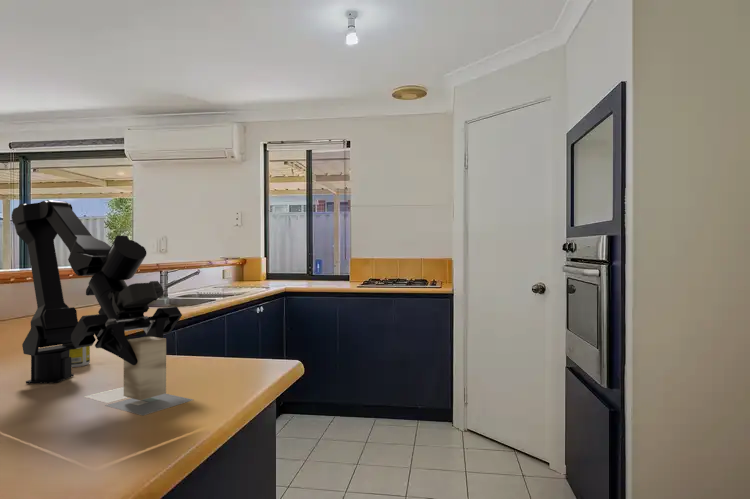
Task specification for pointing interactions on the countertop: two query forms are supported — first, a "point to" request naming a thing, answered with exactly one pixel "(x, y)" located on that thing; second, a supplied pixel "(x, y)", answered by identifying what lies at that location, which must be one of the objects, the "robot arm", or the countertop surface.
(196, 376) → the countertop surface
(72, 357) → the supplement bottle
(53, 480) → the countertop surface
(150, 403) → the gray tile
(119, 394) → the pad
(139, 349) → the birch block
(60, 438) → the countertop surface
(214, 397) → the countertop surface
